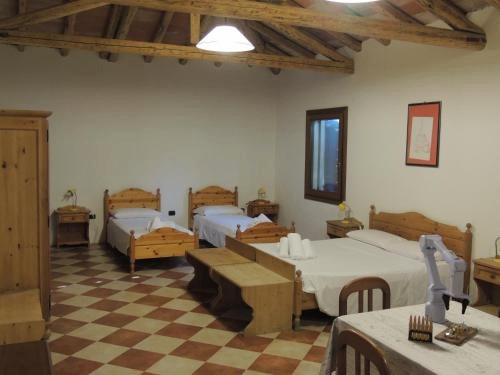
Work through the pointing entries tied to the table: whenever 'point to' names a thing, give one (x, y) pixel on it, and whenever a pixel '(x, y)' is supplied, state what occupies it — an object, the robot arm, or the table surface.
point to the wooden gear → (457, 329)
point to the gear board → (459, 339)
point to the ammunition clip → (421, 330)
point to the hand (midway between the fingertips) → (455, 312)
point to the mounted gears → (452, 334)
